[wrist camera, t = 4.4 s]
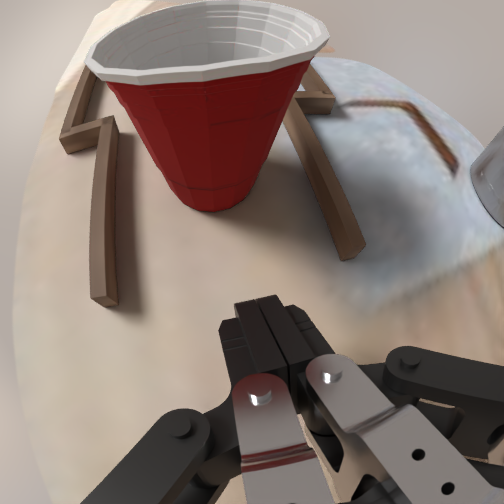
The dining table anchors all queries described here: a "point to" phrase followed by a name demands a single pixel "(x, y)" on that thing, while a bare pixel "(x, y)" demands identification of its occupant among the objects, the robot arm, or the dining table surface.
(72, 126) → the T fence
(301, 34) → the plastic cup
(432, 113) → the dining table surface
